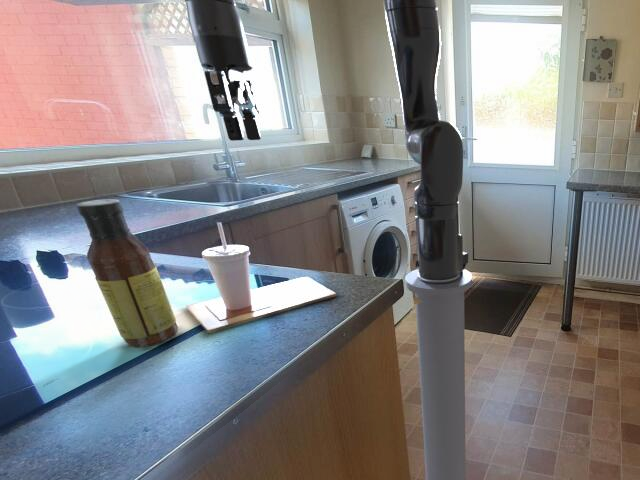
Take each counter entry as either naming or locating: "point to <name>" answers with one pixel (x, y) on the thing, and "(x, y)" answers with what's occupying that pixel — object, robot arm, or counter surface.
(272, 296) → the wooden board
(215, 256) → the smoothie
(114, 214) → the sauce bottle
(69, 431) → the counter surface
